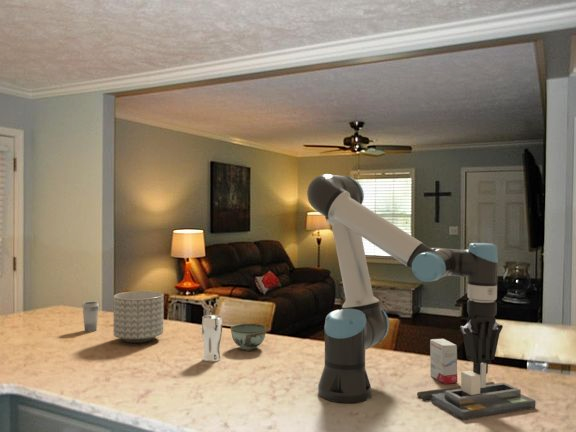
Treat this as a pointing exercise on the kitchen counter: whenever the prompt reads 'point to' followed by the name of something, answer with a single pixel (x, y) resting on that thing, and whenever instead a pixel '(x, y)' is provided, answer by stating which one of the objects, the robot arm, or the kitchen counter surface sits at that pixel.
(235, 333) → the bowl
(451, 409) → the grey tray
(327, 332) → the robot arm
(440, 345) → the ink box
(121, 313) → the planter
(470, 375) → the toggle
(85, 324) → the cup
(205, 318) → the beer glass
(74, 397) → the kitchen counter surface
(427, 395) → the dark grey flat bar
